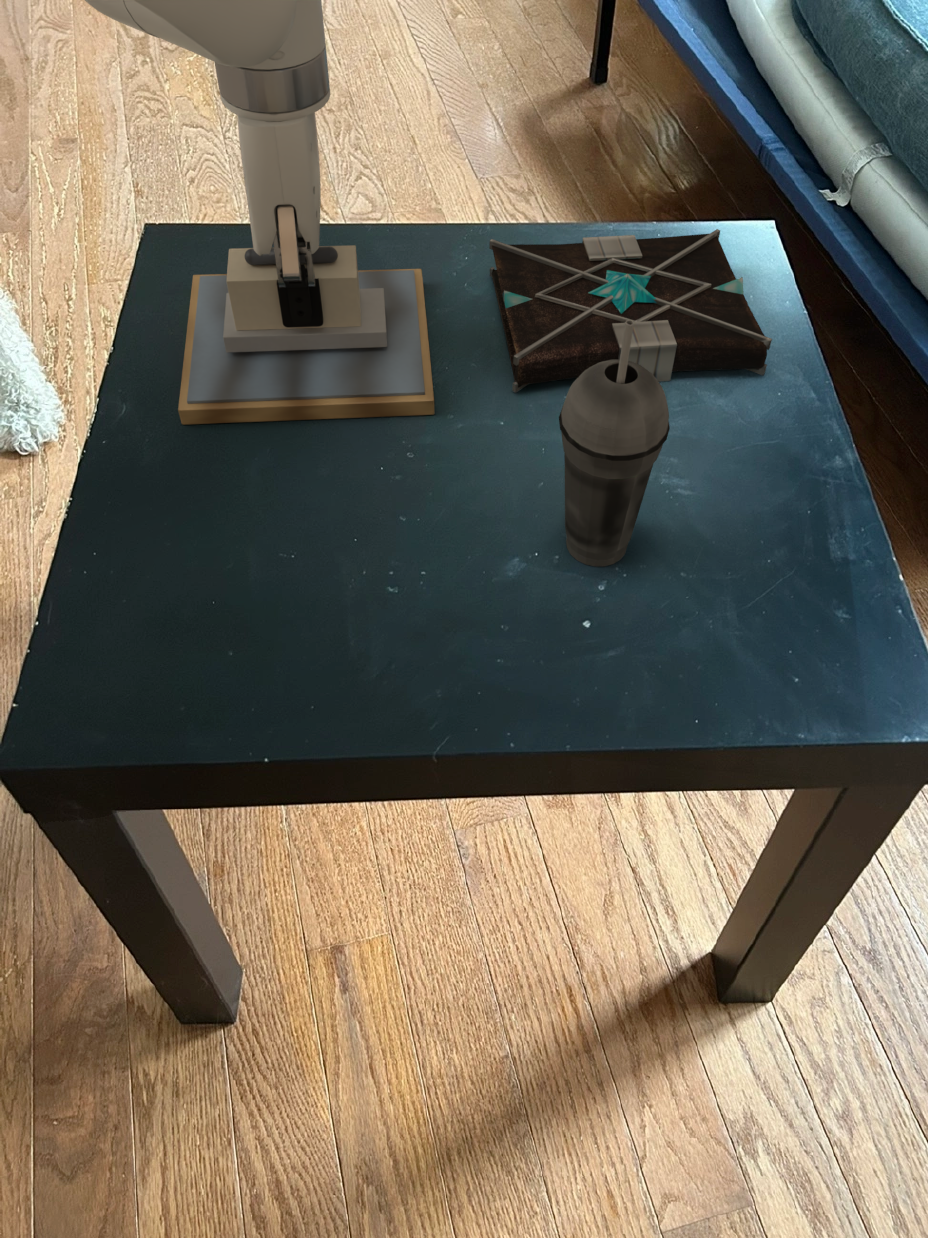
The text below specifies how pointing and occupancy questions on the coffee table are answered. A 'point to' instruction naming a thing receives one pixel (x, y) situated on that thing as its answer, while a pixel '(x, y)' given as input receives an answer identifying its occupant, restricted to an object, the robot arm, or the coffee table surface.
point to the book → (624, 307)
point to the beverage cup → (609, 453)
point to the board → (308, 364)
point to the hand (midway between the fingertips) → (303, 303)
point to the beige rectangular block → (344, 305)
